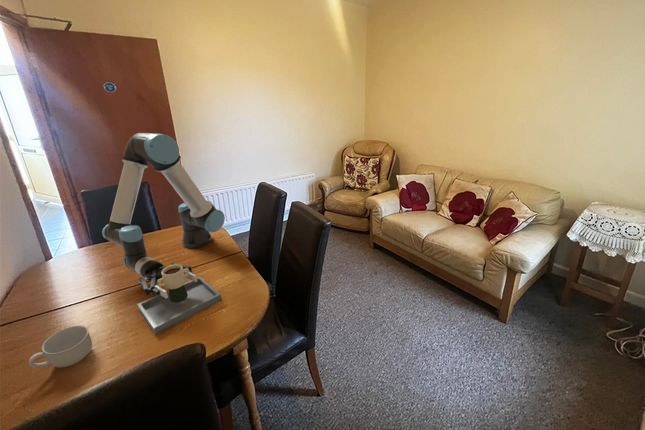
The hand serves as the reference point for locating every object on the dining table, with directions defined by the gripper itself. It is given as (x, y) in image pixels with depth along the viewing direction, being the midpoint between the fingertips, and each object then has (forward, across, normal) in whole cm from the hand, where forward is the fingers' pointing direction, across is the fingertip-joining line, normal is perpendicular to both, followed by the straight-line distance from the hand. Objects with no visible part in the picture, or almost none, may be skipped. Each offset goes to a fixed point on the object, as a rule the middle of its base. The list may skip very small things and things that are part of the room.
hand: (181, 286), depth 104 cm
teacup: (-10, +33, -11) cm, 36 cm away
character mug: (-4, 0, -7) cm, 8 cm away
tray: (-4, 0, -10) cm, 11 cm away
